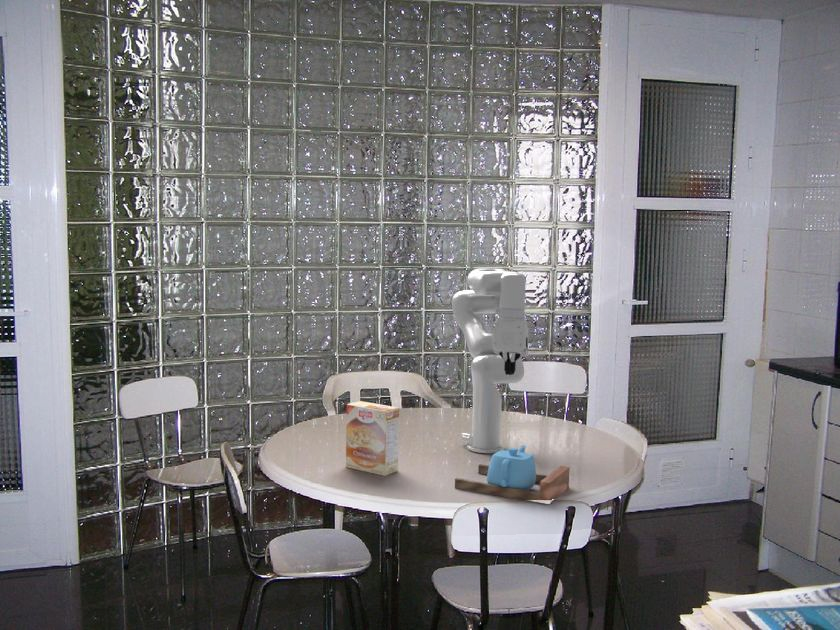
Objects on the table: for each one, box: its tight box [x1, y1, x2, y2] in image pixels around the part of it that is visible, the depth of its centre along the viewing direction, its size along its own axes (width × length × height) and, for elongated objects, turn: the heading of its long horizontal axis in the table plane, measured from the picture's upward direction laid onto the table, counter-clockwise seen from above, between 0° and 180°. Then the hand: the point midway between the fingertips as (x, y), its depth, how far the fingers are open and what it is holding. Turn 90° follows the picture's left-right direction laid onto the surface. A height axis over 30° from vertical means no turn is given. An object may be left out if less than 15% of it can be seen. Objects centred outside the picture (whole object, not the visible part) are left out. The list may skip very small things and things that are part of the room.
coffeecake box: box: [345, 400, 400, 477], centre depth 237 cm, size 15×7×20 cm, turn 56°
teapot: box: [486, 444, 537, 491], centre depth 222 cm, size 12×18×12 cm
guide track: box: [454, 463, 570, 501], centre depth 223 cm, size 28×17×6 cm, turn 62°
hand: (509, 374), depth 240 cm, fingers closed
